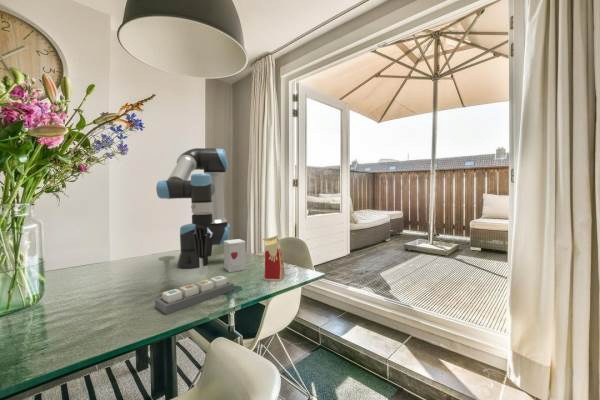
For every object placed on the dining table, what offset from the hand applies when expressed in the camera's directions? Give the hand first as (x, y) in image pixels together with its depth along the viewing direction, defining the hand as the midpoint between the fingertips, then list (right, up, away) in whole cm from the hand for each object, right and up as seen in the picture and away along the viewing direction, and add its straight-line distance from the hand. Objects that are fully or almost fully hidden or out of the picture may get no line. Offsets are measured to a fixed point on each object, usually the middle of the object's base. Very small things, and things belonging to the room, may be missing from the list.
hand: (204, 273), depth 103 cm
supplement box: (+3, -8, +35) cm, 36 cm away
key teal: (-8, -7, -9) cm, 14 cm away
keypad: (-2, -9, -2) cm, 9 cm away
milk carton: (+25, -8, +20) cm, 33 cm away
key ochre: (0, -6, 0) cm, 6 cm away
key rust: (-4, -6, -4) cm, 9 cm away
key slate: (+4, -6, +5) cm, 9 cm away
